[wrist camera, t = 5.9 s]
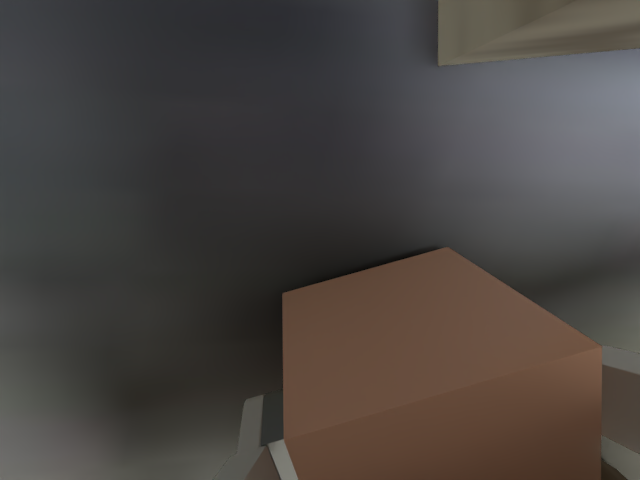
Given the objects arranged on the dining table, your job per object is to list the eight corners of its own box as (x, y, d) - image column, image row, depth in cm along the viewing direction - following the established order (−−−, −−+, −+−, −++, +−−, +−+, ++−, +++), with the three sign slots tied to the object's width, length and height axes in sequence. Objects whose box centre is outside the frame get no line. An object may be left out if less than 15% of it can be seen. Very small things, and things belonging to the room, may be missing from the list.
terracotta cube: (324, 424, 11) (355, 633, 6) (282, 293, 10) (284, 440, 5) (467, 382, 11) (600, 556, 7) (447, 246, 10) (601, 346, 5)
